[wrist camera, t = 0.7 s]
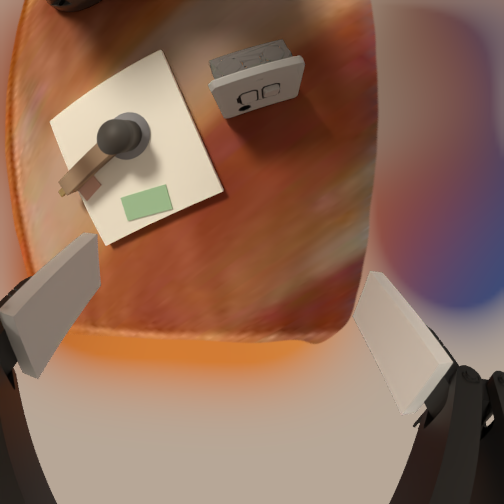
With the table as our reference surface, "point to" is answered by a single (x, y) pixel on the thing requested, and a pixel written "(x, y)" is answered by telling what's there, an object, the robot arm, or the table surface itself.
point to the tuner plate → (138, 150)
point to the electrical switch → (255, 78)
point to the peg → (102, 152)
